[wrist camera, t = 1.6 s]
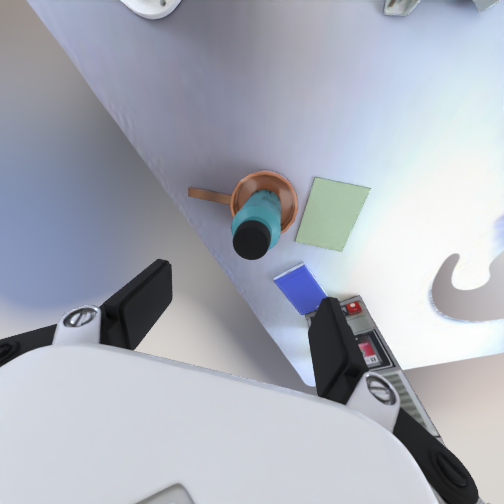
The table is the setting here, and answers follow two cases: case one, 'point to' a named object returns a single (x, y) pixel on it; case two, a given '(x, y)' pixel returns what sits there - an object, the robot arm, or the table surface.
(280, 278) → the hard drive
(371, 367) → the tall grey upright box
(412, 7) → the tape dispenser
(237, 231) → the beverage bottle
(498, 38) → the table surface
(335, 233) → the cloth
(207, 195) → the pan handle
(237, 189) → the pan
